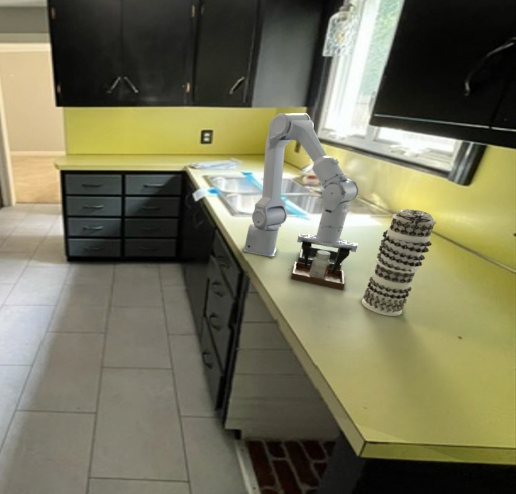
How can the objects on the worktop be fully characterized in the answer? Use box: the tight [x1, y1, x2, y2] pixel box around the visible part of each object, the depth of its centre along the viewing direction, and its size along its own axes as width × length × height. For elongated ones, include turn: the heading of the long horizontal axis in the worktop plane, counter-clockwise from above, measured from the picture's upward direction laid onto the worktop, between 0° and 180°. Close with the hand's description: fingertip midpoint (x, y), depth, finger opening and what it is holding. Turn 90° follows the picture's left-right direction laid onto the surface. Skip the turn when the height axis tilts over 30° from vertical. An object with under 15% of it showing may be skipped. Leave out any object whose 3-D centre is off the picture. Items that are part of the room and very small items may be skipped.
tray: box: [290, 261, 346, 291], centre depth 106 cm, size 13×9×2 cm
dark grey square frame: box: [297, 245, 342, 270], centre depth 115 cm, size 11×11×3 cm
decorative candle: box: [361, 208, 437, 317], centre depth 87 cm, size 9×9×25 cm
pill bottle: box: [309, 250, 331, 279], centre depth 104 cm, size 4×4×8 cm
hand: (319, 268), depth 105 cm, fingers open, 6 cm apart
